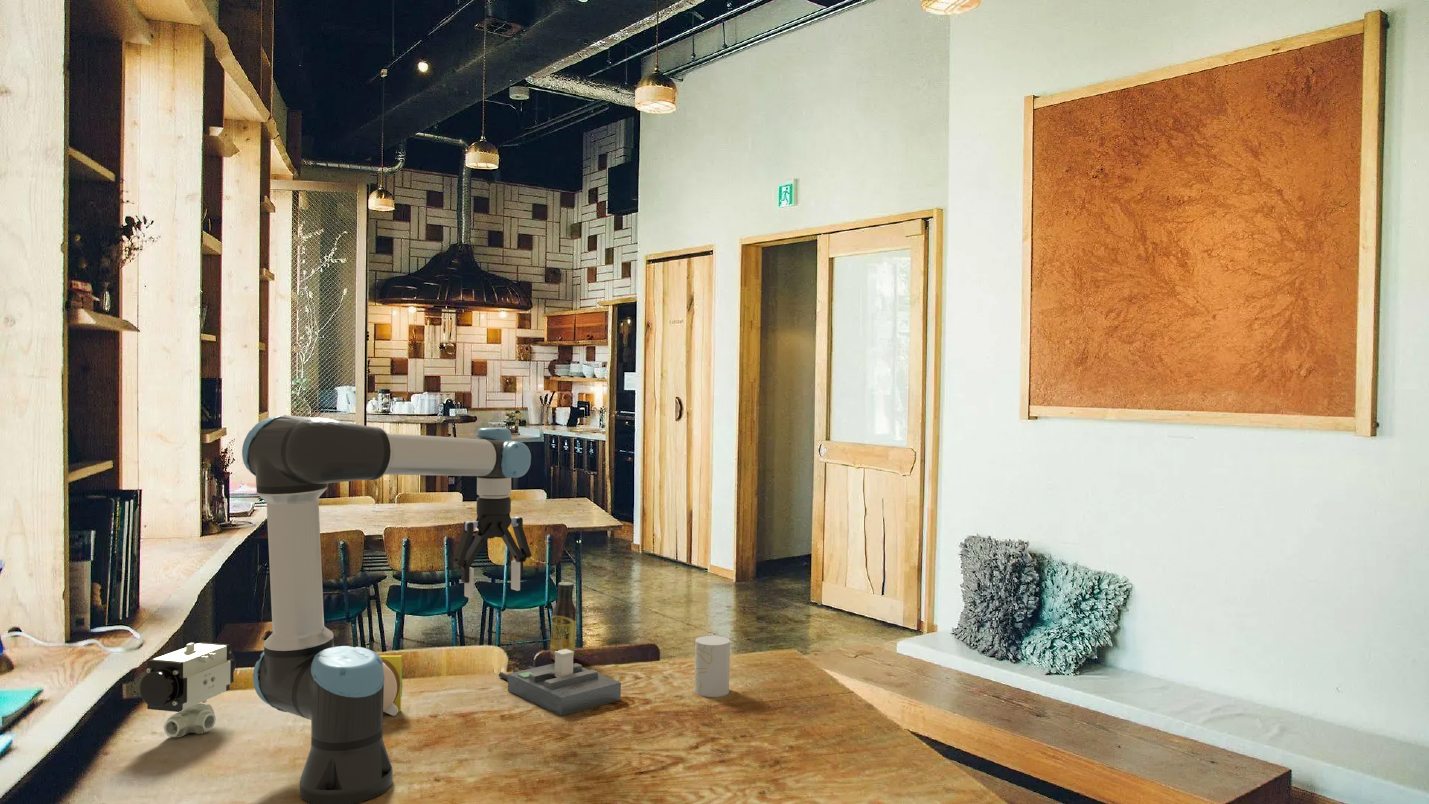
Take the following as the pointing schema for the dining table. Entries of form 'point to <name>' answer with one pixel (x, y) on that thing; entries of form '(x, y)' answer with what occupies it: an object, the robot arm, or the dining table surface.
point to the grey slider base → (563, 688)
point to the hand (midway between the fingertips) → (492, 593)
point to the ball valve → (188, 685)
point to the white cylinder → (712, 666)
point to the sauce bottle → (563, 620)
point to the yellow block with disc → (392, 684)
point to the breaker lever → (563, 662)
